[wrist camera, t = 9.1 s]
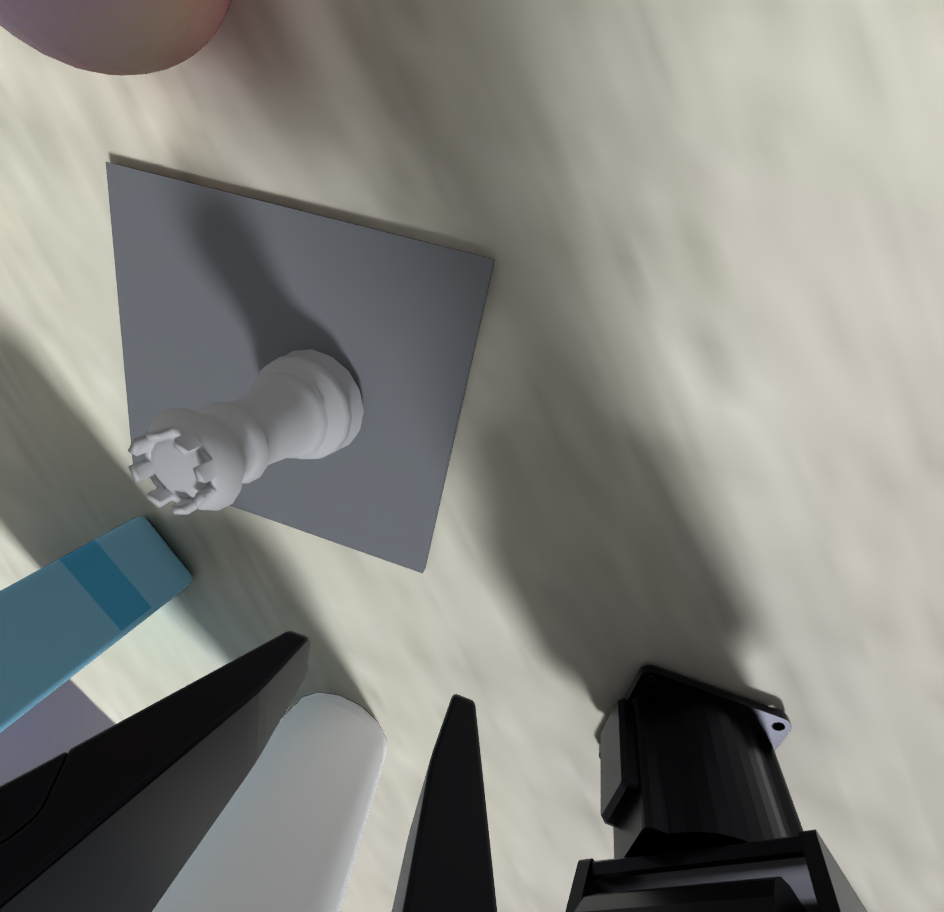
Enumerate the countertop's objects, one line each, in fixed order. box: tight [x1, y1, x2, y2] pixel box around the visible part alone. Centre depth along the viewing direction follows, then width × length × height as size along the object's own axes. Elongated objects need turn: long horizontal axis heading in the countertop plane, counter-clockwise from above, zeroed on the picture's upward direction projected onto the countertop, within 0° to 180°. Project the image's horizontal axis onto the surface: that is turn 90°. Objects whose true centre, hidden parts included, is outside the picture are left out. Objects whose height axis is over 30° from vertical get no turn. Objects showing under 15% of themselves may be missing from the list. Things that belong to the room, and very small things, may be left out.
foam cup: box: [152, 693, 387, 912], centre depth 23 cm, size 10×9×13 cm
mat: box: [106, 162, 495, 573], centre depth 21 cm, size 16×14×1 cm
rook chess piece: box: [128, 349, 364, 515], centre depth 17 cm, size 4×4×8 cm
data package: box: [0, 516, 193, 732], centre depth 23 cm, size 12×4×12 cm, turn 122°
